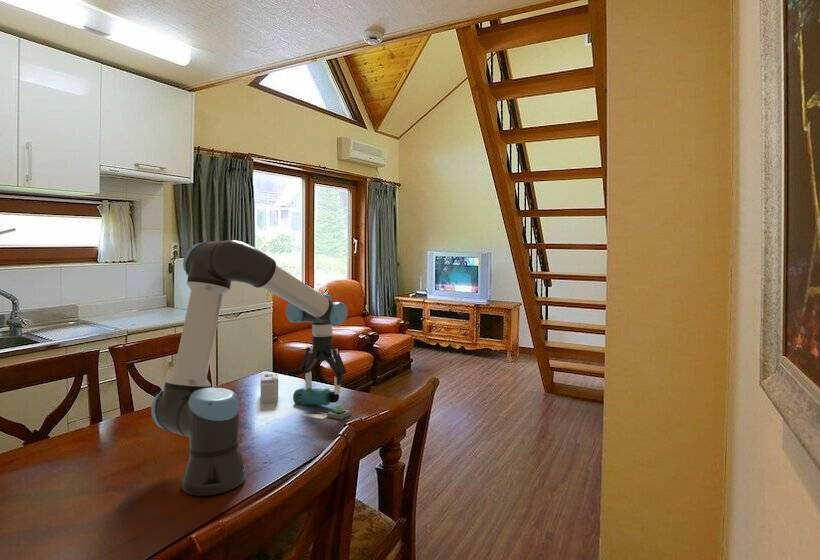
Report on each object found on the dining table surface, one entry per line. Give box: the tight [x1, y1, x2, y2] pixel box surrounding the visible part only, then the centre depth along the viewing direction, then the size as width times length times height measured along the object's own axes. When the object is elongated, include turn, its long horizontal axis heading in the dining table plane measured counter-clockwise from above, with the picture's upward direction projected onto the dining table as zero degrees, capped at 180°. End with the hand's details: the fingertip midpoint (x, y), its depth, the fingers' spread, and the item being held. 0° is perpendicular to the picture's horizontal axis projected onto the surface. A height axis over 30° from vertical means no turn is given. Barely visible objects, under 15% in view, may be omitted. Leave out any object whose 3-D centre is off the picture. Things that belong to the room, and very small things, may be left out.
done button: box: [333, 405, 345, 413], centre depth 164 cm, size 3×3×2 cm
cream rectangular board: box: [302, 413, 328, 420], centre depth 170 cm, size 16×12×1 cm
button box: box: [327, 409, 352, 420], centre depth 164 cm, size 6×6×2 cm
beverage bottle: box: [292, 387, 340, 406], centre depth 173 cm, size 6×7×20 cm
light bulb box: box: [260, 373, 279, 404], centre depth 180 cm, size 11×7×11 cm, turn 17°
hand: (322, 391), depth 172 cm, fingers open, 13 cm apart
